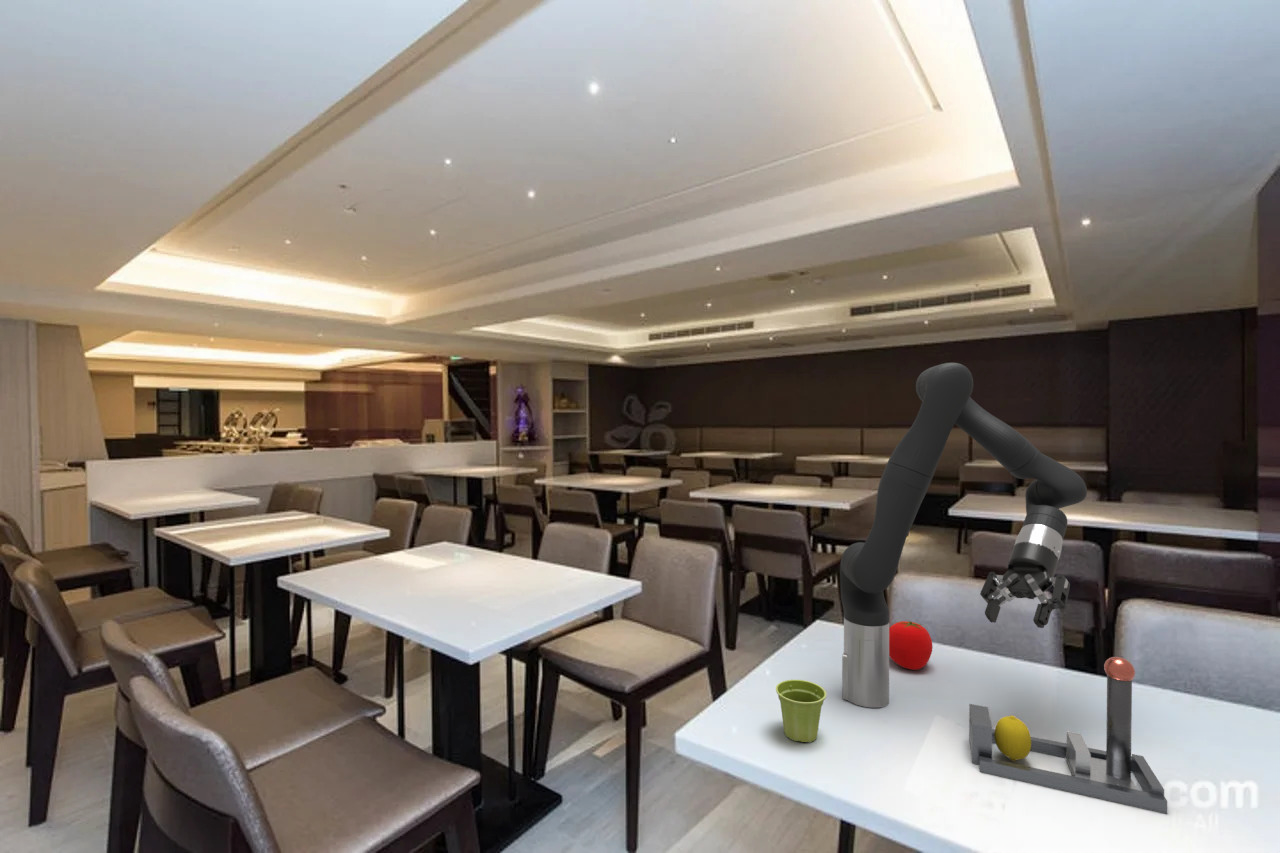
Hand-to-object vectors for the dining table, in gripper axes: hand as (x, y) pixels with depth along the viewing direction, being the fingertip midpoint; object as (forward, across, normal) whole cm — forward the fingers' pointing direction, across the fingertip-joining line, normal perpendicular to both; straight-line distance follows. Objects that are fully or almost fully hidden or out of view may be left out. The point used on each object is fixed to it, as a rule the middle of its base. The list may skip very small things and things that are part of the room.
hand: (1013, 622), depth 108 cm
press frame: (+17, +2, +17) cm, 24 cm away
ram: (+15, +8, +20) cm, 27 cm away
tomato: (+1, -36, +23) cm, 43 cm away
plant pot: (+35, -27, -7) cm, 45 cm away
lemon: (+19, -2, +14) cm, 24 cm away
